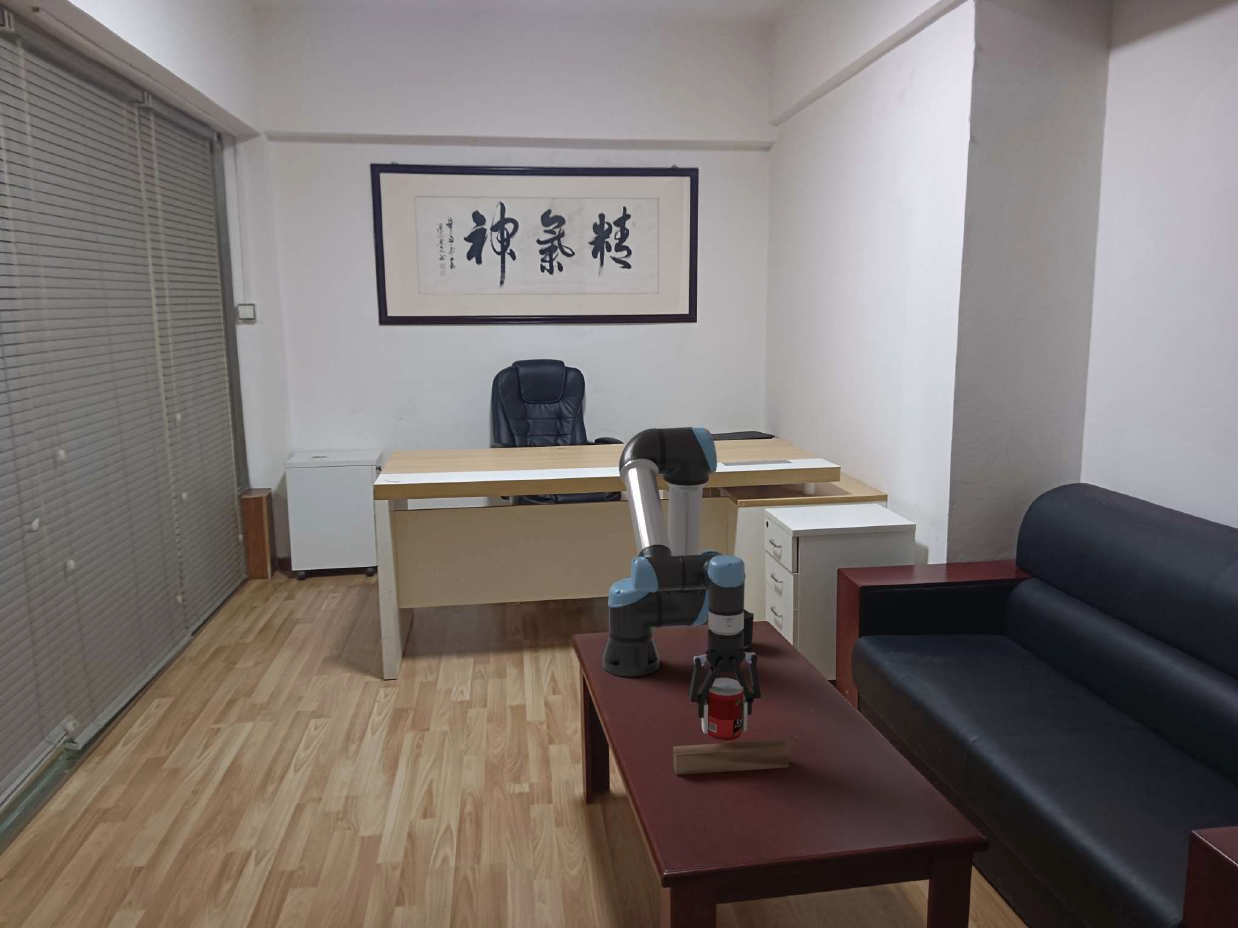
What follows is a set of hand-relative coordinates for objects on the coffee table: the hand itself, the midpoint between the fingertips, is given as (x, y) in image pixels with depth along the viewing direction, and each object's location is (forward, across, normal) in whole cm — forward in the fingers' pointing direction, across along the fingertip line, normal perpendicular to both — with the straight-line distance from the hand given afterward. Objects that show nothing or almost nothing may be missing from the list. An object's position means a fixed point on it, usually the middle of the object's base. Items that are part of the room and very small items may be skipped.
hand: (724, 729), depth 193 cm
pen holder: (+5, +17, +57) cm, 59 cm away
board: (+5, 0, -6) cm, 8 cm away
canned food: (+1, 0, 0) cm, 1 cm away
